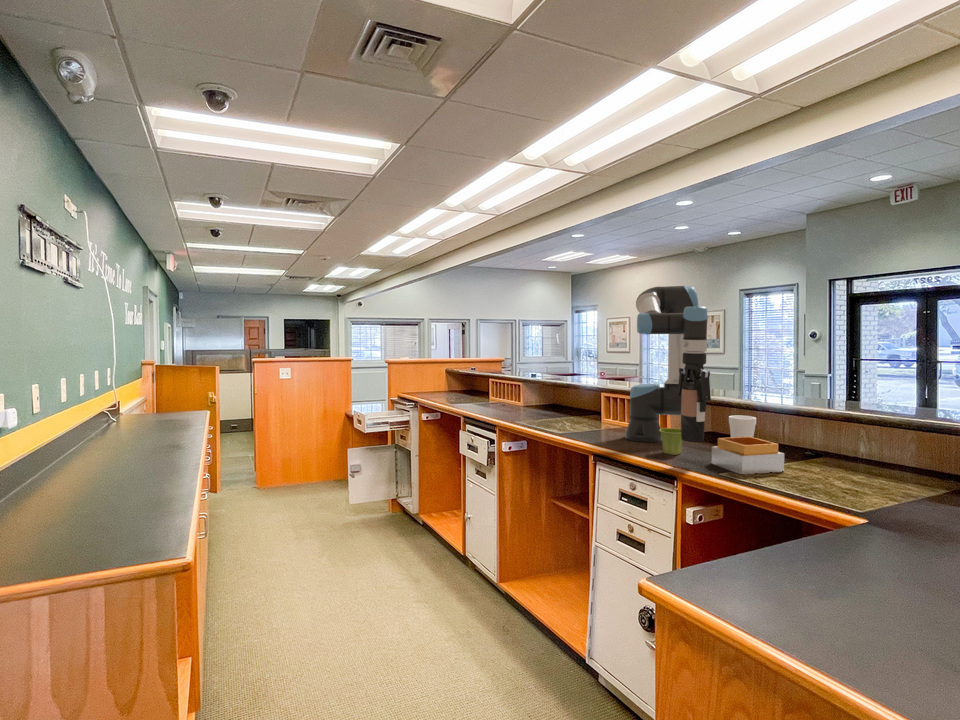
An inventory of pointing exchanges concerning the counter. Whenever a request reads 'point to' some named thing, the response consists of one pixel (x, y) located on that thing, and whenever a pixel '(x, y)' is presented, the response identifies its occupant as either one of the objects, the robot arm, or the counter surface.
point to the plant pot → (671, 440)
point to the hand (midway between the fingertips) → (692, 419)
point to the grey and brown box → (747, 455)
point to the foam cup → (742, 426)
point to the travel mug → (690, 414)
